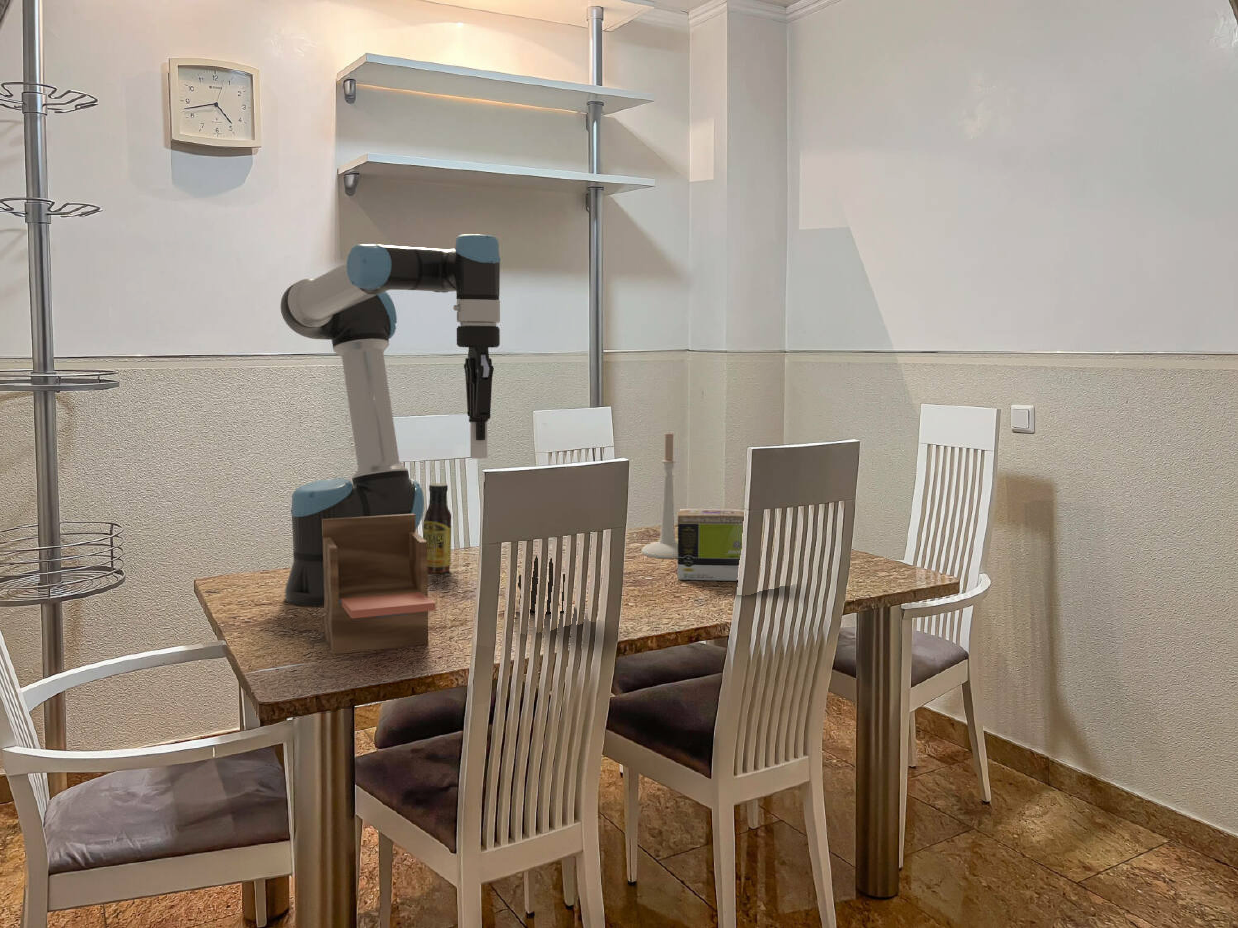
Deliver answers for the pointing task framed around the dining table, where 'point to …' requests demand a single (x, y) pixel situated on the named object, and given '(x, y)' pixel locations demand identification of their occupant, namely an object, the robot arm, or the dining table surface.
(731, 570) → the tea box
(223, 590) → the dining table surface
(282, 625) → the dining table surface
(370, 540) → the wooden box
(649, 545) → the candlestick
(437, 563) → the sauce bottle
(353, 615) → the panel
